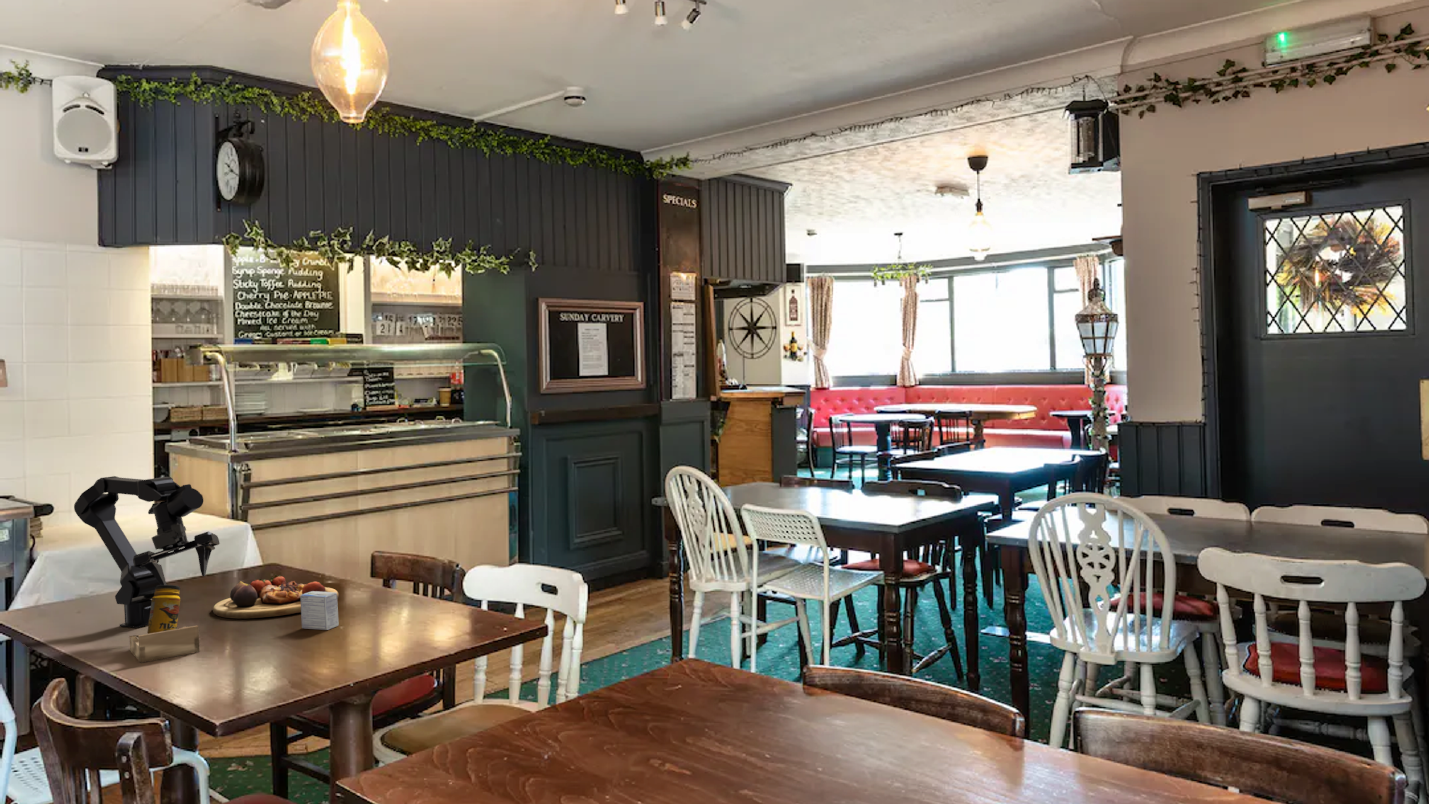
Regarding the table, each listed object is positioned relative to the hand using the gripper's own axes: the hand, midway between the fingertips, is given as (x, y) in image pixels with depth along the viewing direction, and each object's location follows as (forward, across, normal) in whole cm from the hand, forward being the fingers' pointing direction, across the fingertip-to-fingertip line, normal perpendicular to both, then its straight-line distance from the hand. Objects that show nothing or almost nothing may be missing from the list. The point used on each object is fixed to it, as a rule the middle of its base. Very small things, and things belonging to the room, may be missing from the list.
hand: (184, 582), depth 244 cm
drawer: (+17, -4, -12) cm, 21 cm away
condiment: (+13, -6, -9) cm, 17 cm away
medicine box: (+22, +27, +1) cm, 35 cm away
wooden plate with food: (+8, +13, +28) cm, 32 cm away
